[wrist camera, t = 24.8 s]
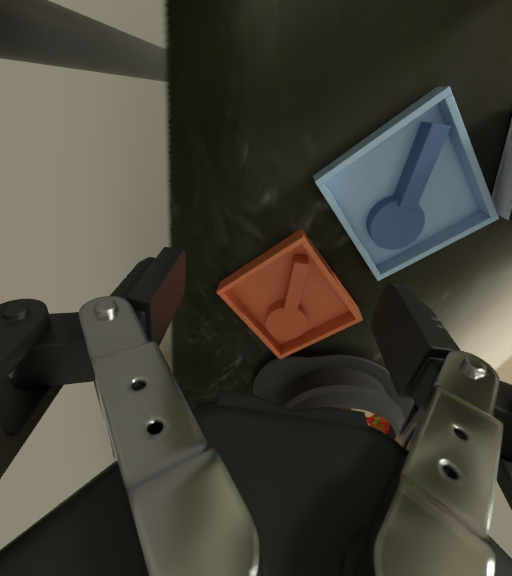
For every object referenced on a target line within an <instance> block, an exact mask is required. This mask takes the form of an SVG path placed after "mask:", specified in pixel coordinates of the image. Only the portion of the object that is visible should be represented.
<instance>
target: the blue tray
mask: <svg viewBox="0 0 512 576" xmlns="http://www.w3.org/2000/svg"><path fill="white" fill-rule="evenodd" d="M421 122H427V123H434V124H440V125H446V126H451V128H450V130H449V133H448V135H447V137H446V140H445V142H444V144H443V147H442V149H441V151H440V154H439V156H438V158H437V161H436V163H435V165H434V168H433V170H432V172H431V175H430V177H429V179H428V182H427V184H426V186H425V189H424V191H423V193H422V196H421V198H420V200H419V203H418V205H419V206H420V207H421V208H422V210H423V212H424V215H425V225H424V228H423V230H422V232H421V234H420V235H419V237H418V238H417V239H416V240H415V241H414V242H412V243H411V244H410V245H408V246H406V247H403V248H400V249H395V250H389V249H384V248H381V247H379V246H378V245H376V244H375V243H374V241H373V240H372V238H371V237H370V235H369V233H368V231H367V227H366V221H367V217H368V214H369V212H370V210H371V209H372V208H373V207H374V206H375V204H377V203H378V202H379V201H381V200H382V199H384V198H387V197H389V196H393V195H394V193H395V190H396V188H397V185H398V182H399V180H400V177H401V174H402V172H403V169H404V166H405V164H406V161H407V158H408V156H409V153H410V151H411V148H412V145H413V143H414V140H415V137H416V135H417V132H418V129H419V127H420V124H421ZM313 178H314V181H315V183H316V185H317V186H318V188H319V189H320V191H321V193H322V194H323V196H324V197H325V199H326V200H327V202H328V204H329V205H330V207H331V208H332V210H333V211H334V213H335V215H336V216H337V218H338V219H339V221H340V222H341V224H342V226H343V227H344V229H345V230H346V232H347V233H348V235H349V237H350V238H351V240H352V241H353V243H354V244H355V246H356V248H357V249H358V251H359V252H360V254H361V255H362V257H363V259H364V260H365V262H366V263H367V265H368V266H369V268H370V270H371V271H372V273H373V274H374V276H375V277H376V279H377V281H379V280H381V279H383V278H385V277H387V276H389V275H391V274H393V273H395V272H397V271H399V270H401V269H403V268H405V267H406V266H408V265H410V264H412V263H414V262H416V261H418V260H420V259H422V258H424V257H426V256H428V255H430V254H432V253H434V252H436V251H437V250H439V249H441V248H443V247H445V246H447V245H449V244H451V243H453V242H455V241H457V240H459V239H461V238H463V237H465V236H467V235H469V234H470V233H472V232H474V231H476V230H478V229H480V228H482V227H484V226H486V225H488V224H490V223H492V222H494V221H496V220H498V219H499V217H498V214H497V211H496V209H495V206H494V203H493V201H492V198H491V195H490V193H489V190H488V187H487V185H486V182H485V179H484V177H483V174H482V171H481V169H480V166H479V163H478V161H477V158H476V155H475V153H474V150H473V147H472V145H471V142H470V139H469V137H468V134H467V131H466V129H465V126H464V123H463V121H462V118H461V115H460V113H459V110H458V107H457V105H456V102H455V99H454V97H453V94H452V91H451V88H450V86H445V87H436V88H434V89H433V90H432V91H430V92H429V93H427V94H426V95H425V96H423V97H422V98H420V99H419V100H418V101H416V102H415V103H413V104H412V105H411V106H409V107H408V108H406V109H405V110H404V111H402V112H401V113H400V114H398V115H397V116H395V117H394V118H393V119H391V120H390V121H388V122H387V123H386V124H384V125H383V126H381V127H380V128H379V129H377V130H376V131H374V132H373V133H372V134H370V135H369V136H368V137H366V138H365V139H363V140H362V141H361V142H359V143H358V144H356V145H355V146H354V147H352V148H351V149H349V150H348V151H347V152H345V153H344V154H343V155H341V156H340V157H338V158H337V159H336V160H334V161H333V162H331V163H330V164H329V165H327V166H326V167H324V168H323V169H322V170H320V171H319V172H317V173H316V174H315V175H313Z"/></svg>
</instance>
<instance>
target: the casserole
mask: <svg viewBox="0 0 512 576" xmlns="http://www.w3.org/2000/svg"><path fill="white" fill-rule="evenodd" d="M253 395H256V396H259V397H261V398H264V399H266V400H269V401H272V402H274V403H277V404H279V405H282V406H284V407H287V408H290V409H306V408H317V407H328V406H329V407H336V408H343V409H349V410H356V411H362V412H365V416H366V419H367V423H368V425H369V426H372V427H374V428H376V429H378V430H380V431H382V432H383V433H385V434H386V435H388V436H390V437H391V438H392V439H394V440H395V439H396V437H397V435H398V433H399V431H400V429H401V427H402V425H403V423H404V421H405V419H406V417H407V415H408V413H409V411H410V409H411V407H412V406H413V404H414V403H415V402H414V400H413V399H410V398H403V397H398V395H397V392H396V390H395V387H394V385H393V382H392V380H391V377H390V375H389V372H388V370H387V369H386V368H384V367H382V366H381V365H379V364H377V363H376V362H373V361H371V360H368V359H365V358H361V357H356V356H351V355H327V356H317V357H288V356H286V357H284V358H282V359H279V358H276V359H274V360H272V361H270V362H269V363H267V364H266V365H265V366H264V367H263V368H262V369H261V370H260V371H259V373H258V374H257V376H256V378H255V380H254V384H253Z"/></svg>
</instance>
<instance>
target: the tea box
mask: <svg viewBox="0 0 512 576" xmlns="http://www.w3.org/2000/svg"><path fill="white" fill-rule="evenodd" d="M491 198H492V201H493V203H494V206H495V209H496V211H497V214H498V215H499V216H501V217H503V218H505V219H507V220H509V221H511V222H512V119H511V123H510V128H509V131H508V135H507V139H506V142H505V146H504V150H503V154H502V157H501V161H500V166H499V170H498V173H497V177H496V182H495V185H494V189H493V193H492V197H491Z"/></svg>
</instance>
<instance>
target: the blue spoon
mask: <svg viewBox="0 0 512 576" xmlns="http://www.w3.org/2000/svg"><path fill="white" fill-rule="evenodd" d="M450 128H451V126H446V125H440V124H434V123H427V122H421V124H420V127H419V129H418V132H417V135H416V137H415V140H414V143H413V145H412V148H411V151H410V153H409V156H408V158H407V161H406V164H405V166H404V169H403V172H402V174H401V177H400V180H399V182H398V185H397V188H396V190H395V193H394V195H393V196H389V197H387V198H384V199H382V200H381V201H379V202H378V203H377V204H375V206H374V207H373V208H372V209H371V210H370V212H369V214H368V217H367V221H366V227H367V231H368V233H369V235H370V237H371V238H372V240H373V241H374V243H375V244H376V245H378V246H379V247H381V248H384V249H389V250H395V249H400V248H403V247H406V246H408V245H410V244H411V243H412V242H414V241H415V240H416V239H417V238H418V237H419V235H420V234H421V232H422V230H423V228H424V225H425V215H424V212H423V210H422V208H421V207H420V206H419V205H418V203H419V200H420V198H421V196H422V193H423V191H424V189H425V186H426V184H427V182H428V179H429V177H430V175H431V172H432V170H433V168H434V165H435V163H436V161H437V158H438V156H439V154H440V151H441V149H442V147H443V144H444V142H445V140H446V137H447V135H448V133H449V130H450Z"/></svg>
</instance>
